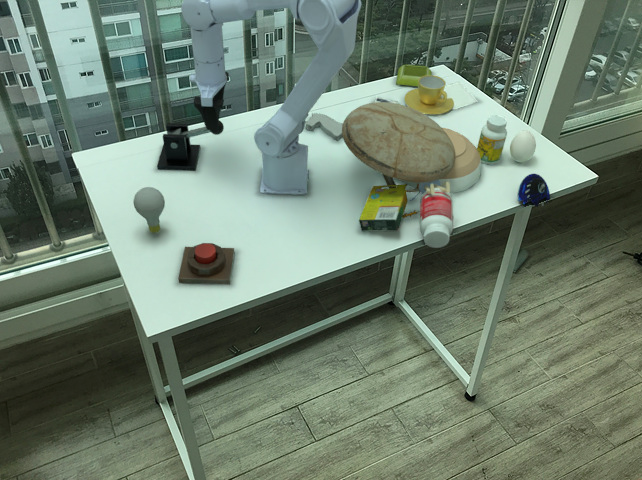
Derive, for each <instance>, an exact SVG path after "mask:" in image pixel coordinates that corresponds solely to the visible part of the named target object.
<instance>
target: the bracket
mask: <svg viewBox="0 0 642 480" xmlns="http://www.w3.org/2000/svg"><path fill="white" fill-rule="evenodd" d="M165 128H166V133H163V134H162V141H163V145H162V148H161V151H160V154H159V158H158V162H157V163H156V168H157V170H160V171H191V172H192V171H193V172H196V171H197V167H198V161H199V158H200V153H201V144H191V139H190V138H191V137H189V138H185V135H179V134H168V132H169V131H172V130H176V129H180V128H181V129H182V131H183V132H186V131H190V130H189V124H188V123H179V122H178V123H177V122H175V123H174V122H166V125H165Z"/></svg>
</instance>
